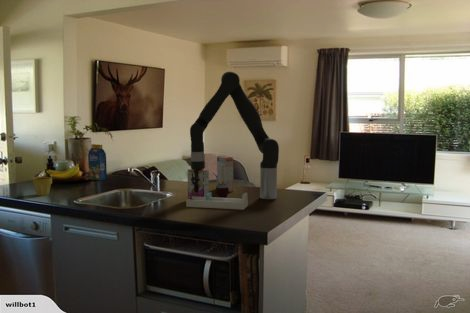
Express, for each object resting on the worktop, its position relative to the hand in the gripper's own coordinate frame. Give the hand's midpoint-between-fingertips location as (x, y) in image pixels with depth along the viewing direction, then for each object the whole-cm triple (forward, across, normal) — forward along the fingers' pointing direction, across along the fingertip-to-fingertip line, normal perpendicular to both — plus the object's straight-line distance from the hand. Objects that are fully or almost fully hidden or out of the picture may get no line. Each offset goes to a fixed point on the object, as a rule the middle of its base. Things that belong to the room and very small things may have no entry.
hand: (198, 190), depth 243 cm
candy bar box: (+5, 0, 0) cm, 5 cm away
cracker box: (+6, +34, -6) cm, 35 cm away
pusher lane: (+6, -11, -14) cm, 19 cm away
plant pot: (+5, -4, +94) cm, 94 cm away
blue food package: (+5, +54, +93) cm, 108 cm away
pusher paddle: (+4, -11, -13) cm, 18 cm away
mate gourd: (+6, +8, -11) cm, 15 cm away
